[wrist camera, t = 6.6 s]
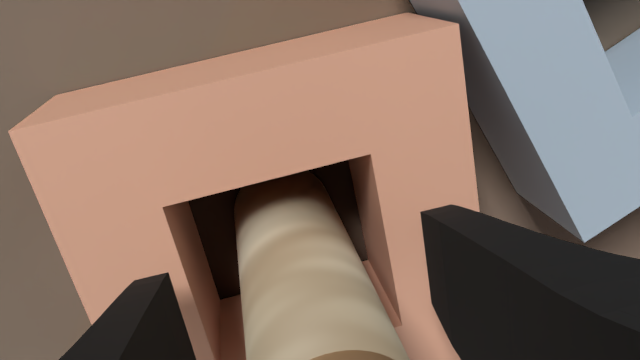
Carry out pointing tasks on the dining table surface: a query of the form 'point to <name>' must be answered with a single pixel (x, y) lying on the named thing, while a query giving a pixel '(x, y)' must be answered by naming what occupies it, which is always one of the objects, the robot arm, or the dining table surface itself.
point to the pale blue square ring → (553, 105)
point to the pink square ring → (259, 164)
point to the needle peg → (305, 278)
